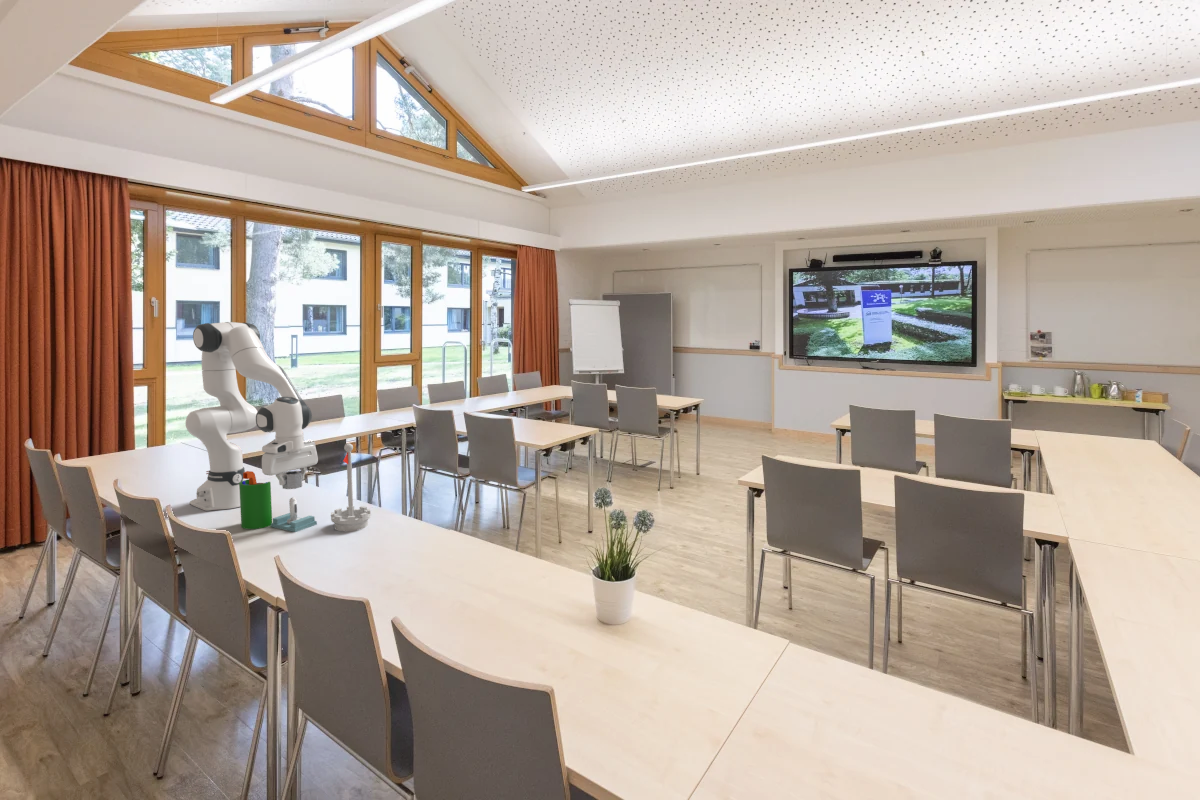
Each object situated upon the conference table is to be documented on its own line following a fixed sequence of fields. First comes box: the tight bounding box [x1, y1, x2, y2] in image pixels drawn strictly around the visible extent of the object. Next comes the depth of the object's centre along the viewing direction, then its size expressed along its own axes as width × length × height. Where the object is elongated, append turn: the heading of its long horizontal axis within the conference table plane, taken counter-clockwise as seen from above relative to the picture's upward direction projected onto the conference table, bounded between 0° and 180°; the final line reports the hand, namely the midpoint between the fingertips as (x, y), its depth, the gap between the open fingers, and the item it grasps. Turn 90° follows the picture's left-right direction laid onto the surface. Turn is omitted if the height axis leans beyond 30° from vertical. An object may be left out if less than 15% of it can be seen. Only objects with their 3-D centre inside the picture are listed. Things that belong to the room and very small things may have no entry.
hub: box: [281, 470, 303, 490], centre depth 217 cm, size 6×6×5 cm
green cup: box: [239, 470, 273, 530], centre depth 218 cm, size 10×9×20 cm
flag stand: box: [330, 442, 372, 532], centre depth 218 cm, size 13×13×30 cm
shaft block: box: [270, 497, 318, 533], centre depth 219 cm, size 12×9×10 cm
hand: (292, 482), depth 217 cm, fingers closed on hub, 6 cm apart
